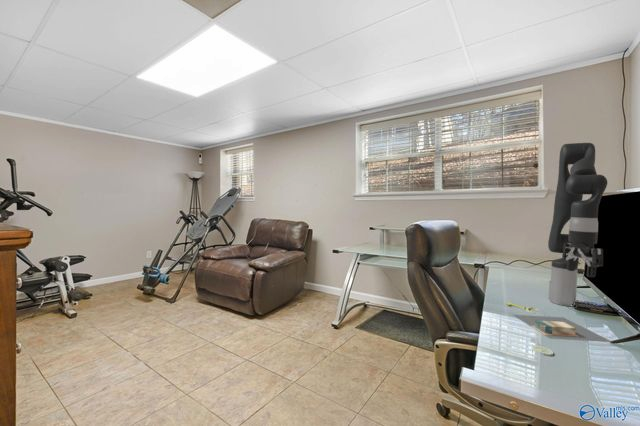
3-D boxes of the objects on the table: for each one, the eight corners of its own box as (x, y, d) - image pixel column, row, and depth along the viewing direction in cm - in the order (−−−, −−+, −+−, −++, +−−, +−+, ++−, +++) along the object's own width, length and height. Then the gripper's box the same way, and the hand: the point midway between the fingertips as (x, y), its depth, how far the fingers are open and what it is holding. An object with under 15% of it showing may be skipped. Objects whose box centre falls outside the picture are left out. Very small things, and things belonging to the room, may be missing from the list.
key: (505, 305, 124) (505, 301, 124) (539, 311, 118) (539, 306, 118) (507, 311, 118) (508, 306, 117) (543, 317, 112) (543, 312, 112)
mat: (512, 315, 111) (512, 314, 111) (563, 318, 109) (563, 317, 109) (549, 339, 91) (549, 337, 91) (612, 343, 90) (612, 341, 89)
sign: (543, 336, 93) (555, 355, 80) (543, 338, 93) (555, 358, 80) (524, 332, 96) (533, 350, 83) (524, 334, 96) (533, 353, 83)
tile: (563, 328, 99) (563, 321, 99) (575, 335, 94) (575, 328, 94) (534, 326, 100) (535, 320, 99) (544, 333, 94) (545, 326, 94)
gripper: (613, 232, 90) (610, 279, 91) (577, 228, 104) (575, 269, 105) (589, 232, 91) (586, 279, 92) (556, 227, 105) (554, 268, 106)
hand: (580, 273), depth 98 cm, fingers open, 8 cm apart
